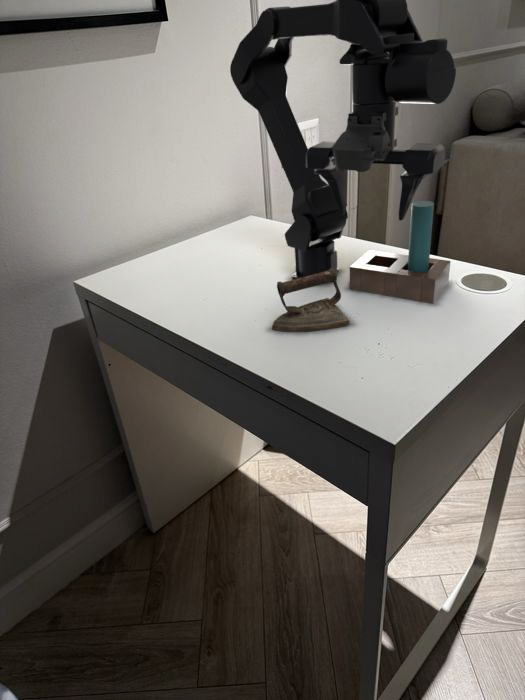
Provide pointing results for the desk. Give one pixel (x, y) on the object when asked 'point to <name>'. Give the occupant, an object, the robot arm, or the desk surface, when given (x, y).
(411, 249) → the peg
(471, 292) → the desk surface
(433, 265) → the peg block
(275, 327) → the clothes iron
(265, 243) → the desk surface
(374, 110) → the robot arm
